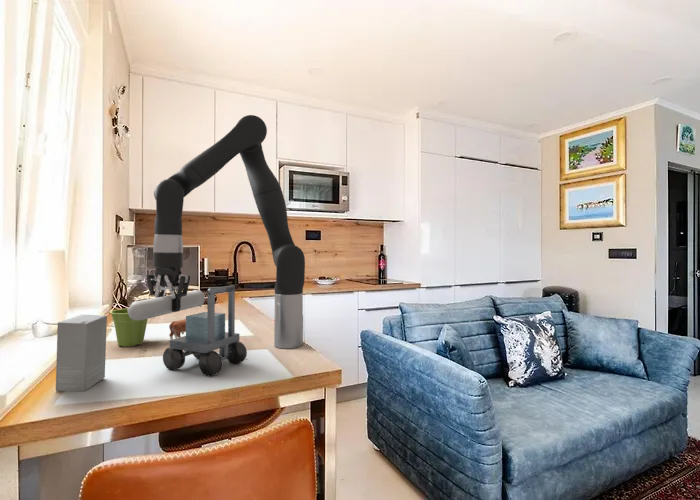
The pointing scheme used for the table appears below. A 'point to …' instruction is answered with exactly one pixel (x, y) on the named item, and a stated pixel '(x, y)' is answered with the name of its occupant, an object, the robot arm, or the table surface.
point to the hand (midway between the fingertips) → (168, 310)
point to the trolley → (208, 338)
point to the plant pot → (128, 328)
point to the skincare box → (80, 352)
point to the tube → (163, 305)
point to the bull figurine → (177, 328)
